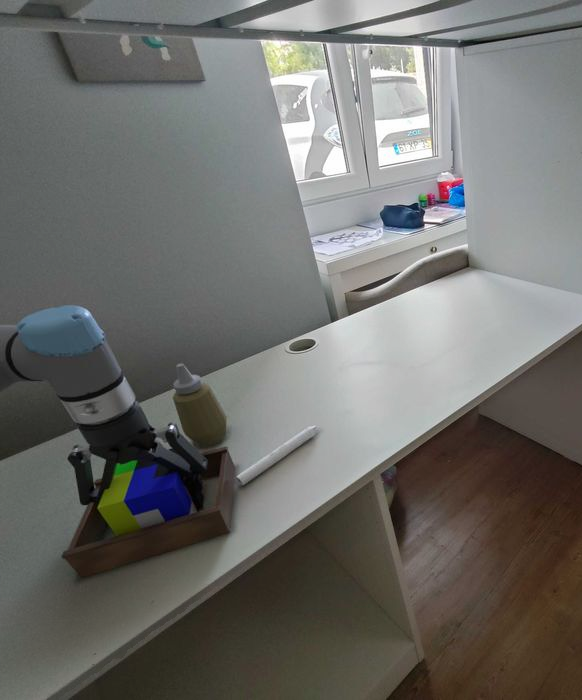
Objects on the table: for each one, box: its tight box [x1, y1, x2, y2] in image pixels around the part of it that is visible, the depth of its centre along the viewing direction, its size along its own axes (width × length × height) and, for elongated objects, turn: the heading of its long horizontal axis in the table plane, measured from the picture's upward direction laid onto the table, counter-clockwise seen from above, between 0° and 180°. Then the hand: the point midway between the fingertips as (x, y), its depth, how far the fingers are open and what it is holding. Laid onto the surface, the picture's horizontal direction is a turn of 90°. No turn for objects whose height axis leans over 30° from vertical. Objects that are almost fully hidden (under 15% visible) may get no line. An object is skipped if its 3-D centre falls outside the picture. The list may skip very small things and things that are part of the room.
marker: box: [235, 425, 320, 486], centre depth 87 cm, size 18×2×2 cm, turn 145°
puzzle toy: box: [97, 448, 204, 536], centre depth 73 cm, size 10×10×10 cm
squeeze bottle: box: [172, 363, 228, 447], centre depth 88 cm, size 8×8×18 cm
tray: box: [60, 445, 236, 579], centre depth 74 cm, size 21×16×6 cm
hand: (165, 513), depth 75 cm, fingers closed on puzzle toy, 10 cm apart
